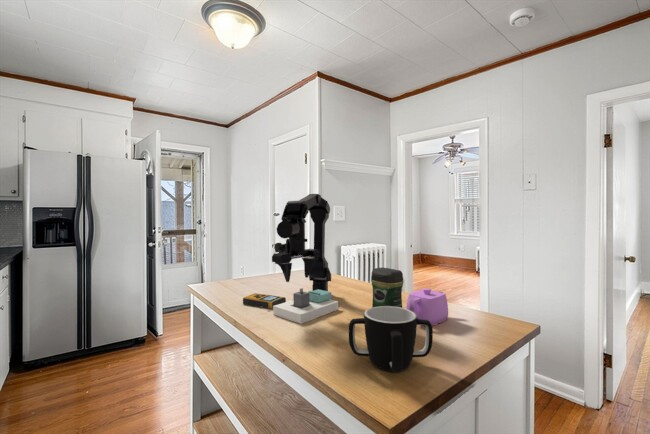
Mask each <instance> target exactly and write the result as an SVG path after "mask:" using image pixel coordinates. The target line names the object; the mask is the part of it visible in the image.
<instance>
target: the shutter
mask: <svg viewBox="0 0 650 434" xmlns="http://www.w3.org/2000/svg"><path fill="white" fill-rule="evenodd" d="M306 292H307V291H306ZM307 293H309V300H311V301H315V302H318V303H320V302H323V301H326V300H329V299H330V300H332V292H331V291H329V290H328V291H323V290H319V289H318V290H314V291H312V290H308V292H307Z"/></svg>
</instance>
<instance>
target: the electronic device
mask: <svg viewBox="0 0 650 434" xmlns="http://www.w3.org/2000/svg"><path fill="white" fill-rule="evenodd" d="M286 299H287V298H286V297H283V296H280V295H279V296H277V295H271V294H263V293H257V292H256V293H255V292H254V293H252V294H249V295H246V296H244V297H243V298H242V304H243V305H248V306H251V307H252V306H253V307H260V308H265V309H271V310H273V306H275V305H278V304H282V303H285V302H287V301H286Z"/></svg>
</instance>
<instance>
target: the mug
mask: <svg viewBox="0 0 650 434" xmlns="http://www.w3.org/2000/svg"><path fill="white" fill-rule="evenodd" d="M363 314H364V315H363V317H359V318H352V319H351V320H350V321H349V323H348V343H349V346H350V349H351V351H352V353H353V354H355V355H356V356H359V357H369V360H370V361H371V364H372V365H373V366H374V367H376V368H378V369H379V370H382V371H386V372H394V373H400V372H402V371H403V370H406V369H408V368H409V367H410V365H411V362H412V359H413V358H424V357H427V356H428V355H429V354H430V353H431V349H432V347H433V337H434V336H433V333H434V331H433V326H432V325H431V323H430V322H429V321H428V320H423V319H417V316H416V314H415V313H414V312H412V311H410V310H408V309H406V307H402V308H401V307H394V306H379V307H373V308H372V307H370V308H368V309H365V311H364V313H363ZM356 325H364V335H365V341H366V348H367V349H366V348H365V349H364V348H358V346H357V344H356V335H355V334H356V333H355V329H356ZM417 326H425V342H424V346H423V348H422V349H420V350H415V345H416V337H417Z"/></svg>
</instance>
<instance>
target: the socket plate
mask: <svg viewBox="0 0 650 434" xmlns="http://www.w3.org/2000/svg"><path fill="white" fill-rule="evenodd" d="M338 310H339V301H338V300H333V299H329V300H326V301H323V302H320V303H318V302H315V301H311V300H310V306H308V307H305V308H302V309H300V308H297V307H294V301H293V300H292V299H291V300H289V301H286V302H285V303H282V304H278V305H275V306H273V309H272V312H273V313H272V314H273V315H274V316H276V317H280V318H283V319H286V320H289V321H291V322H295V323H298V324H301V325H302V324H303V323H307V322H309V321H312V320H314V319H317V318H319V317H322V316H325V315H327V314H331V313H333V312H335V311H338Z"/></svg>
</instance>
